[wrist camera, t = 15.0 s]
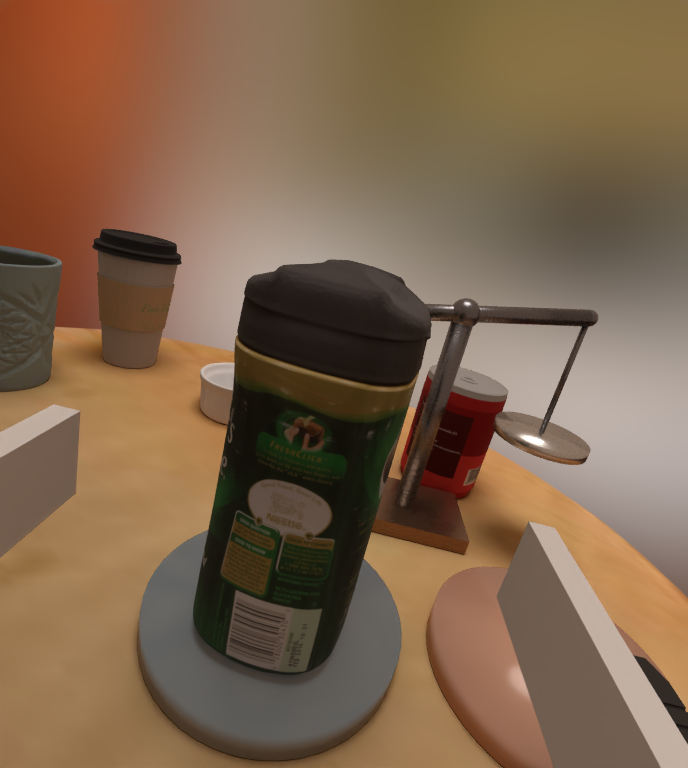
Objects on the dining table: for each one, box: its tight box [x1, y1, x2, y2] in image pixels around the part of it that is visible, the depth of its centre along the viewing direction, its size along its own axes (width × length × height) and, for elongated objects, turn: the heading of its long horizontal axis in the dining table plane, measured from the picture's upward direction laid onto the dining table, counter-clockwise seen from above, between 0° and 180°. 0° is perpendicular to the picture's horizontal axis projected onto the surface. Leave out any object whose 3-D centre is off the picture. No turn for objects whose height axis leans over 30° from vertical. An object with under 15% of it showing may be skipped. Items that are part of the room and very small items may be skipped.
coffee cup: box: [92, 229, 181, 369], centre depth 55 cm, size 9×9×15 cm
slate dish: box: [137, 530, 401, 761], centre depth 25 cm, size 14×14×2 cm
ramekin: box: [200, 363, 235, 425], centre depth 50 cm, size 9×9×4 cm
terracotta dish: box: [426, 567, 668, 768], centre depth 26 cm, size 14×14×2 cm
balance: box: [372, 298, 598, 554], centre depth 36 cm, size 24×7×20 cm, turn 86°
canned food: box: [401, 365, 508, 498], centre depth 45 cm, size 8×8×11 cm
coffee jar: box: [193, 260, 432, 675], centre depth 22 cm, size 10×8×19 cm
